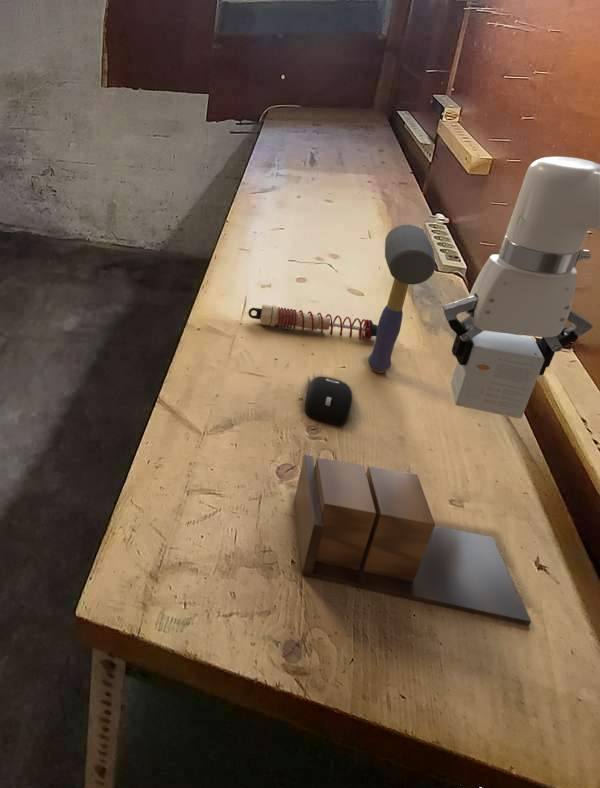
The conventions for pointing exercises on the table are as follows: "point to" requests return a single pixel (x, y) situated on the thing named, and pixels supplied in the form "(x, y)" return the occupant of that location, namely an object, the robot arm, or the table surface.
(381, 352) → the rubber mallet
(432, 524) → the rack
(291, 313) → the shock absorber
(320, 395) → the portable bluetooth speaker
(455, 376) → the small box
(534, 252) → the robot arm
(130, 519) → the table surface
